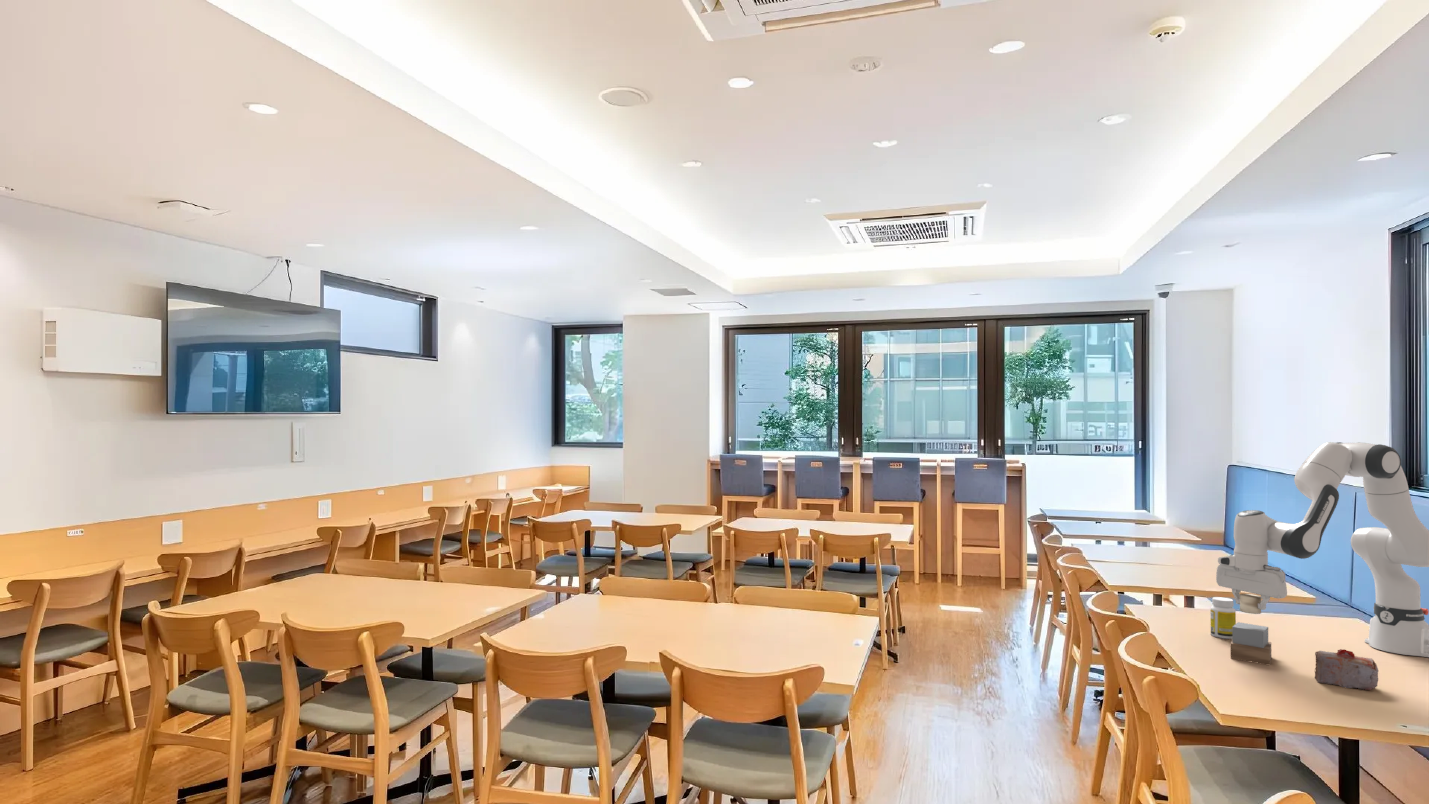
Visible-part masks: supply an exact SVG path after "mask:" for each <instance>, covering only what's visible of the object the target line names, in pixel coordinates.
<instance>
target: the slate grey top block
mask: <svg viewBox="0 0 1429 804" xmlns="http://www.w3.org/2000/svg"><path fill="white" fill-rule="evenodd" d="M1231 641H1233V643H1237V644H1242V645H1248V646H1253V647H1259V648H1264V647H1265V646H1266V645H1267V644H1268V642H1269V626H1265V625H1258V624H1252V623H1245V622H1240V621H1237V622H1236V624H1235V625H1234V626H1233V627H1232V639H1231Z"/></svg>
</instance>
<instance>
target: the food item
mask: <svg viewBox="0 0 1429 804" xmlns="http://www.w3.org/2000/svg"><path fill="white" fill-rule="evenodd" d="M1314 656H1315V668H1314V679H1315V680H1316V682H1317V683H1320V684H1327V685H1332V684H1333V685H1332V686H1340V687H1342V688H1344V687H1346V688H1345V689H1347V688H1348V689H1352V688H1353V689H1357V688H1358V690H1364V689H1365V690H1366V691H1371V690H1373V689H1376V688H1377V687H1378V682H1379V668H1378V665H1377V663H1376V662H1375V661H1374V659H1373V658H1370V657H1365V656H1364V657H1363V656H1357V655H1356V654H1355V653H1354V652H1353V651H1351V650H1347V649H1346V648H1345V649H1342V648H1340V649H1337V652H1333V651H1325V650H1318V651H1315V653H1314Z"/></svg>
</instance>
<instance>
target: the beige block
mask: <svg viewBox="0 0 1429 804" xmlns="http://www.w3.org/2000/svg"><path fill="white" fill-rule="evenodd" d="M1239 594H1240V604H1239V611H1240V612H1241V613H1246V614H1251V615H1252V614H1253V615H1260V614H1262V610H1261V609H1258V608H1257V607H1258V605H1257V603H1261V601H1262V599H1261V595H1259V594H1254V593H1239Z"/></svg>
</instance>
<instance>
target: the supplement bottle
mask: <svg viewBox="0 0 1429 804" xmlns="http://www.w3.org/2000/svg"><path fill="white" fill-rule="evenodd" d="M1211 600H1212V601H1211V603H1212V605H1211V606H1210V608H1209V609H1210V612H1209V613H1210V614H1209V615H1210V635H1211V636H1213V637H1215V638H1219V639H1224V640H1225V639H1227V640H1232V627H1233V626H1234V625H1235V624H1236V623H1237V621H1236V620H1237V619H1236V617H1237V616H1236V614H1237V613H1236V612H1237V611H1236V609H1235V608H1234V600H1233V599H1232V598H1230V597H1223V596H1222V597H1220V596H1213V597H1212V598H1211Z"/></svg>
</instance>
